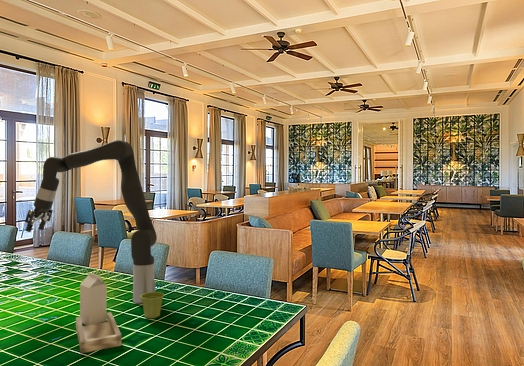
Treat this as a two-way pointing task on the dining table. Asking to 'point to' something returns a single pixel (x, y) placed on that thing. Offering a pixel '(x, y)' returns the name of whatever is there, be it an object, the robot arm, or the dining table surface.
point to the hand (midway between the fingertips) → (34, 230)
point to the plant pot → (152, 304)
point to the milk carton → (93, 300)
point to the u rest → (98, 335)
